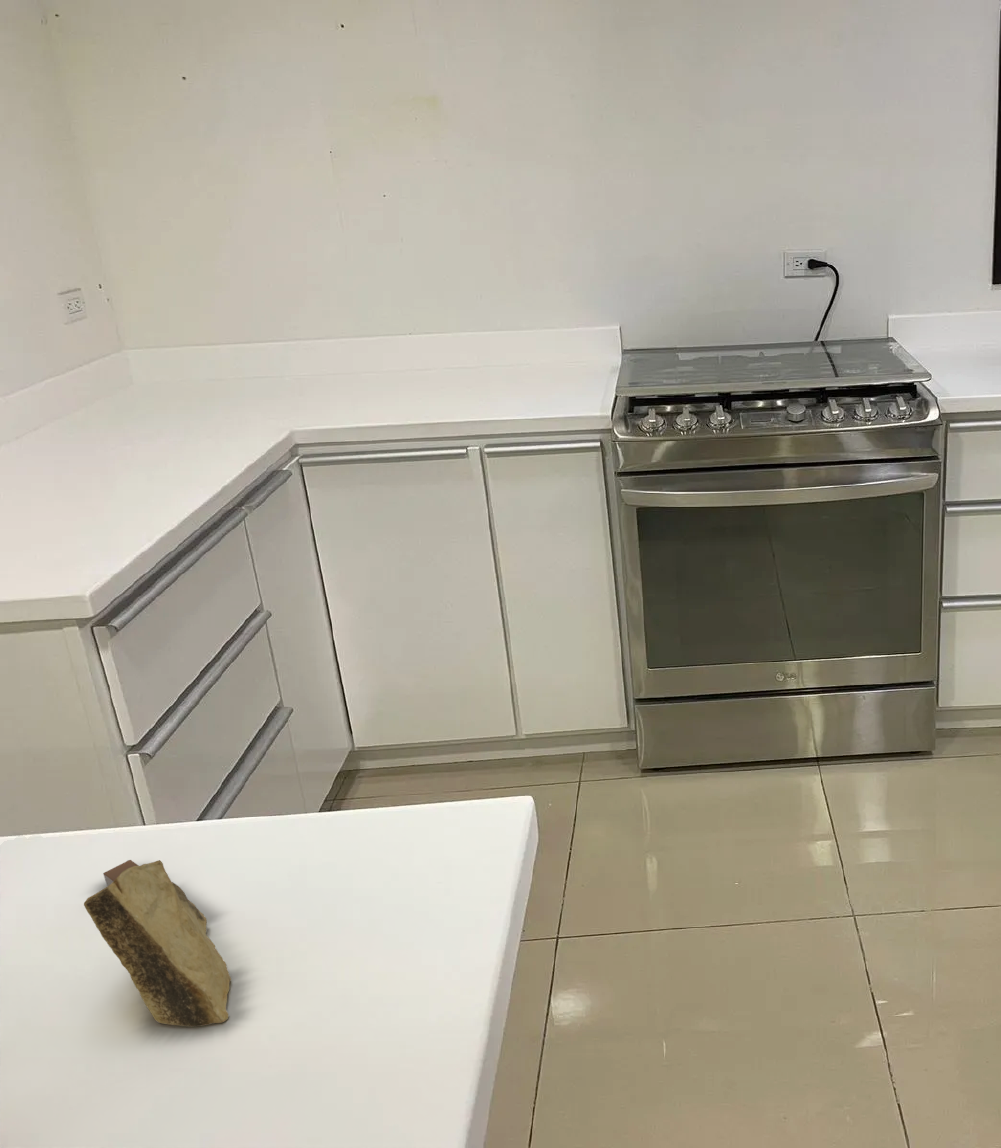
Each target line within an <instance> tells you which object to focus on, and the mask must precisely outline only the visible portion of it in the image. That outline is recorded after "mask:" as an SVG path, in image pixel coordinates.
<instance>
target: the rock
mask: <svg viewBox="0 0 1001 1148" xmlns="http://www.w3.org/2000/svg"><path fill="white" fill-rule="evenodd" d="M83 906H84V908H85V911H86V912H87V913H88V915H89V916H90V918H91V920H92V921H93V923H94V925H95V927H96V929H97V930H98V931H99V933H100V935H101V937H102V938H103V940H104V941H105V942H106V943H107V945H108V947H109V948H110V949H111V950H112V952H113V954H114V955H115V956H116V957H117V958H118V959H119V961H120V963H121V966H122V967H123V968H125V970H126V971H127V972H128V973H129V976H130V979H131V981H132V983H133V984H134V987H135V988H136V990H137V991H138V993H139V995H140V997H141V999H142V1001H143V1004H144V1005H145V1006H146V1008H147V1009H148V1010H149V1012H150V1014H151V1015H152V1017H153V1019H154V1020H155V1021H156V1022H157V1023H159V1024H163V1025H164V1024H165V1025H170V1026H171V1025H172V1026H182V1027H201V1026H202V1027H203V1026H208V1025H211V1024H222V1023H224V1022H226V1021H227V1020H228V1019H229V1012H228V1011H227V1008H226V1007H227V1002H228V994H229V991H230V982H231V981H232V977H231V975H230V973H229V970H228V967H227V962H226V961H225V960H224V958H223V957H222V955H221V954H220V953H219V951H218V949H217V948H216V945H215V944H214V942H213V940H211V939H210V937H208V935H207V925H208V919H207V917H206V916H205V915H204V913H203V912H201V910H199V908H198V907H197V906H196V904H195V903H193V902H192V901H191V900H190V899H188V897H187V895H186V893H185V891H184V890H183V889H182V888H181V887H180V886H179V885H177V884H176V883H174V881H172V880H171V878H170V876H169V874H168V873H167V871H166V869H165V866H164V863H163V861H162V860H160V859H157V860H156V861H153V862H149V863H143V864H141V865H139V866H133V867H130V868H128V869H126V870H124V871H123V872H122V873H121V874H120V875H119V876H118V877H117V878H116V879H115V880H114V882H113V883H111V884H110V885H109V886H107V885H106V886H105V887H104V888H102V889H101V890H99V891H98V892H96V893H94V894H93V895H91V896H89V897H87V898H86V900H85V901H84V902H83Z"/></svg>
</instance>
